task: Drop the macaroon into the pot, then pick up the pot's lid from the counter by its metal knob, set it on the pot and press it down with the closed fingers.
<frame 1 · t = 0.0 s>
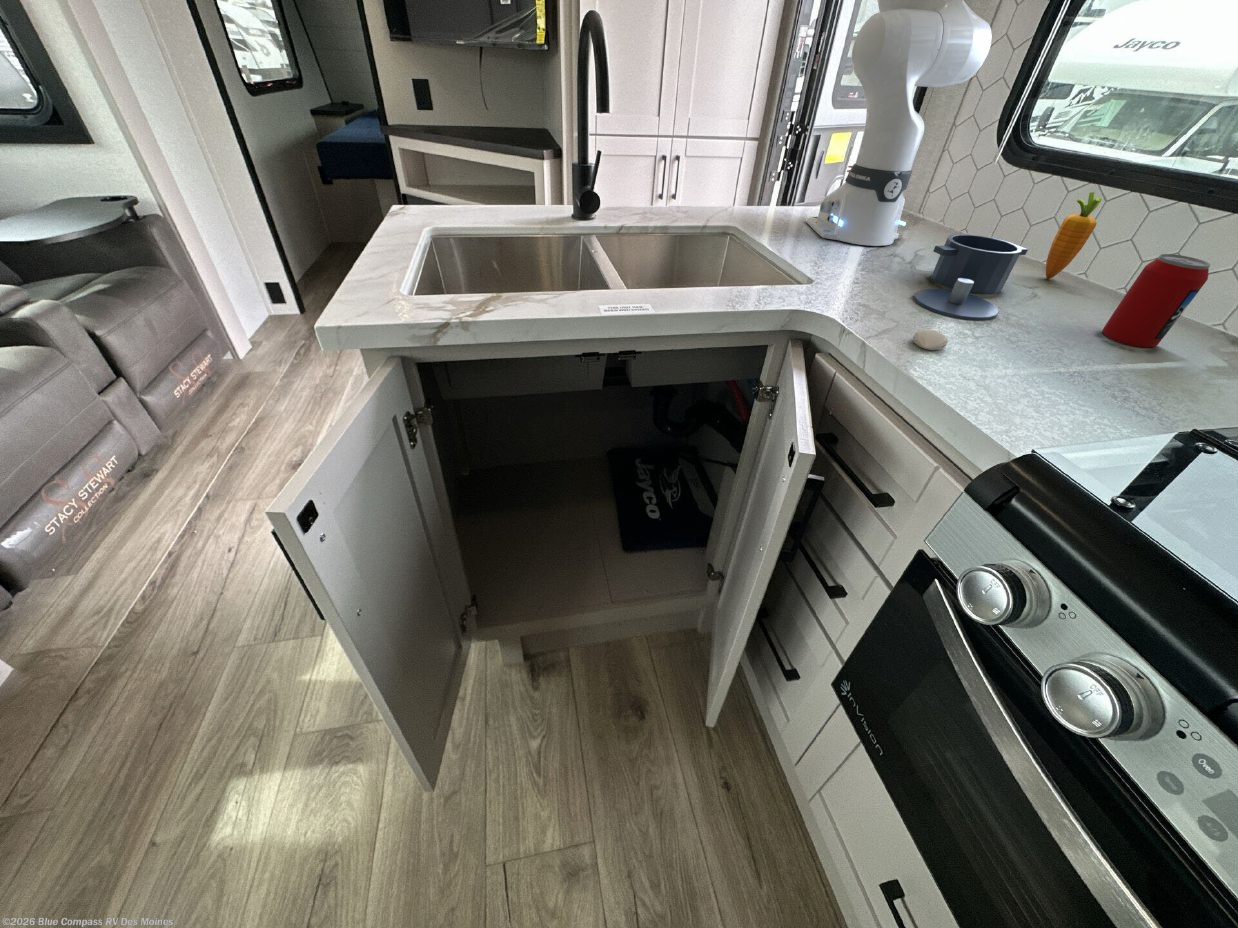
carrot: (1047, 280, 100), on the worktop
beverage can: (1125, 343, 77), on the worktop
lid: (954, 305, 84), point 1 cm above the worktop
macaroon: (924, 351, 72), on the worktop
pot: (964, 286, 94), on the worktop
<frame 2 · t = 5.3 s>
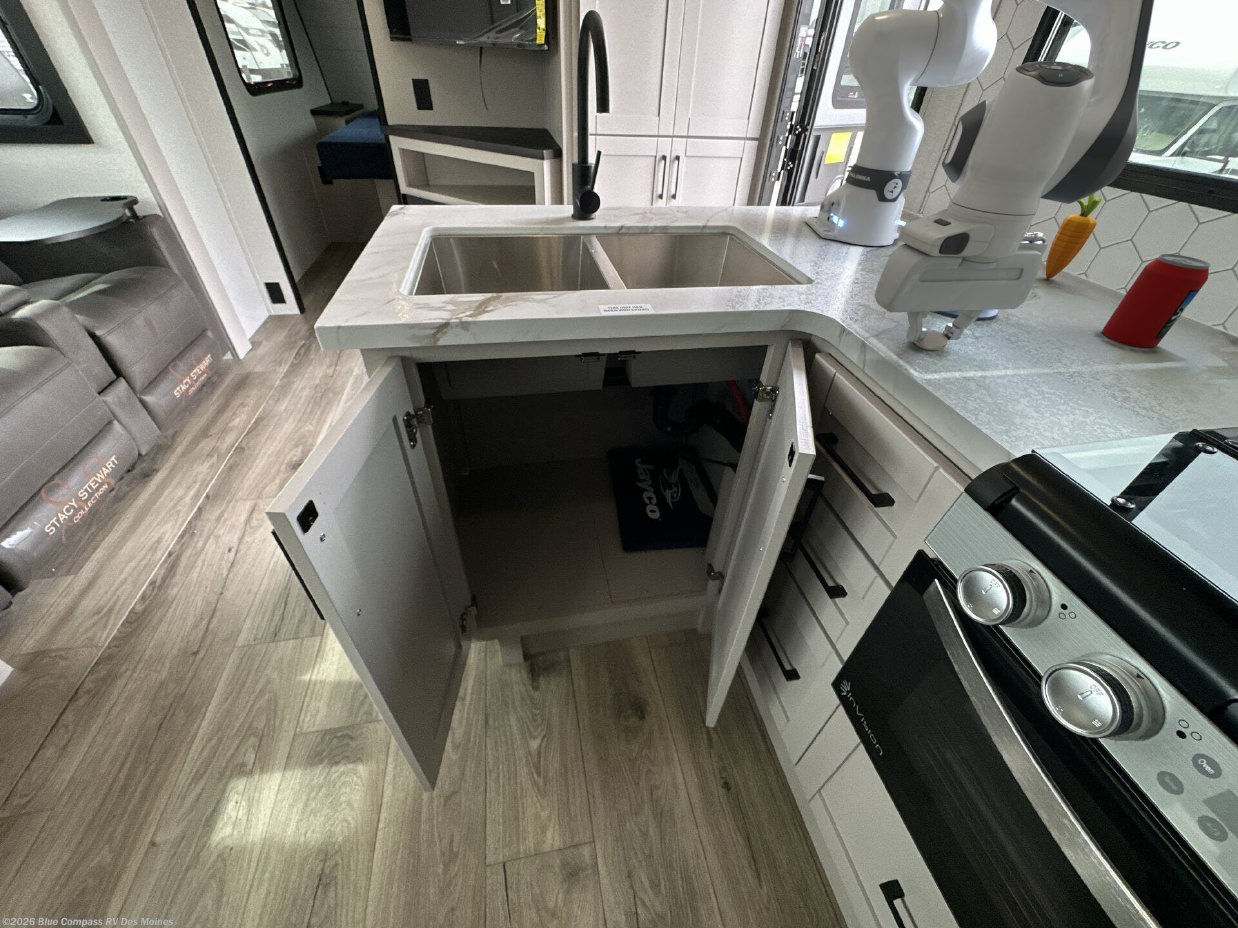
hand: (931, 339, 70), 2 cm above the worktop, tool pointing down, fingers closed on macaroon, 4 cm apart
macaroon: (924, 351, 71), on the worktop, touching gripper
everything else where it was.
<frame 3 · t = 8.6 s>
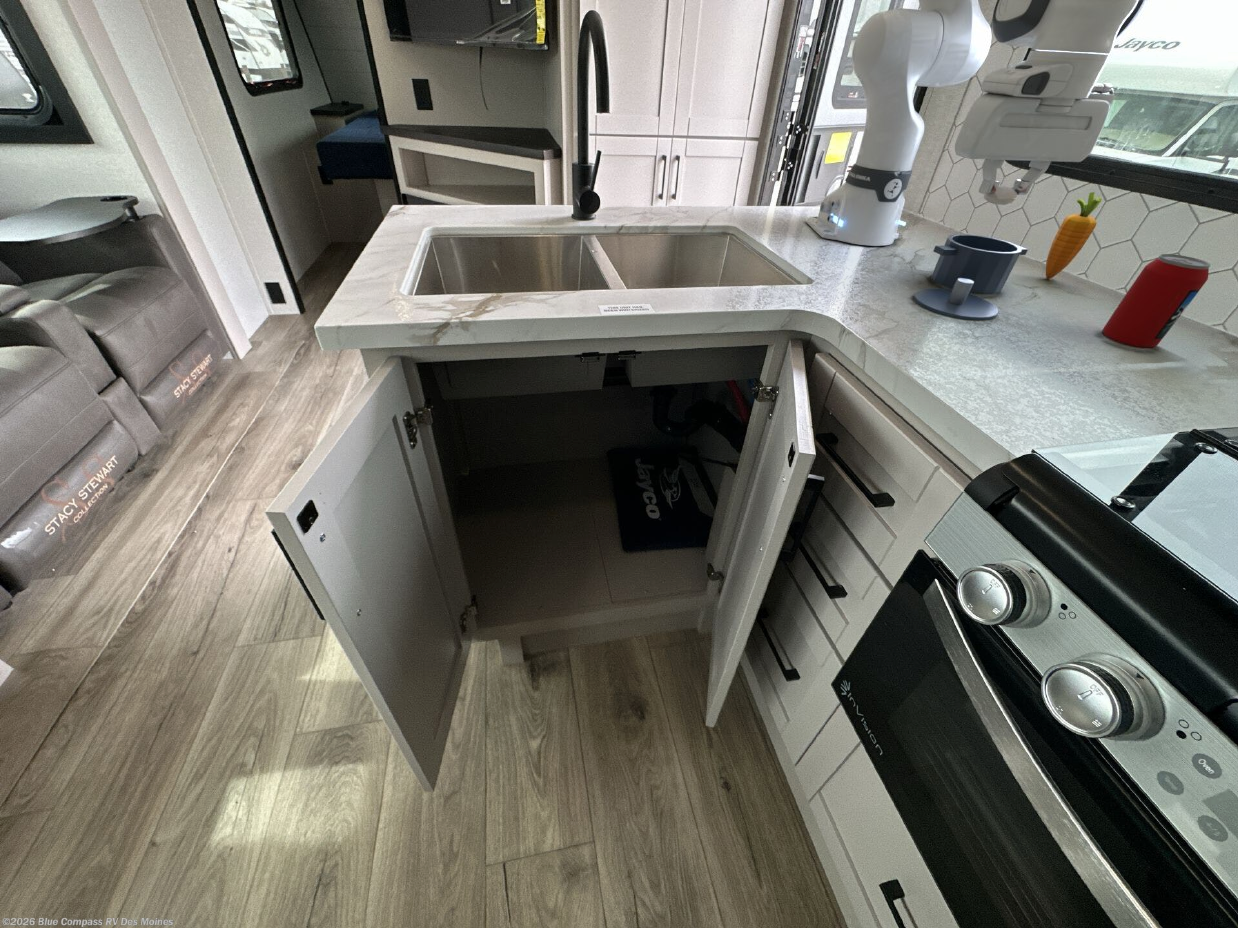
hand: (1001, 194, 78), 16 cm above the worktop, tool pointing down, fingers closed on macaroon, 4 cm apart
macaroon: (994, 206, 79), point 15 cm above the worktop, touching gripper
everything else where it was.
when the fingers open (7 cm above the worktop, at t = 12.4 s): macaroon stays where it is, resting on pot.
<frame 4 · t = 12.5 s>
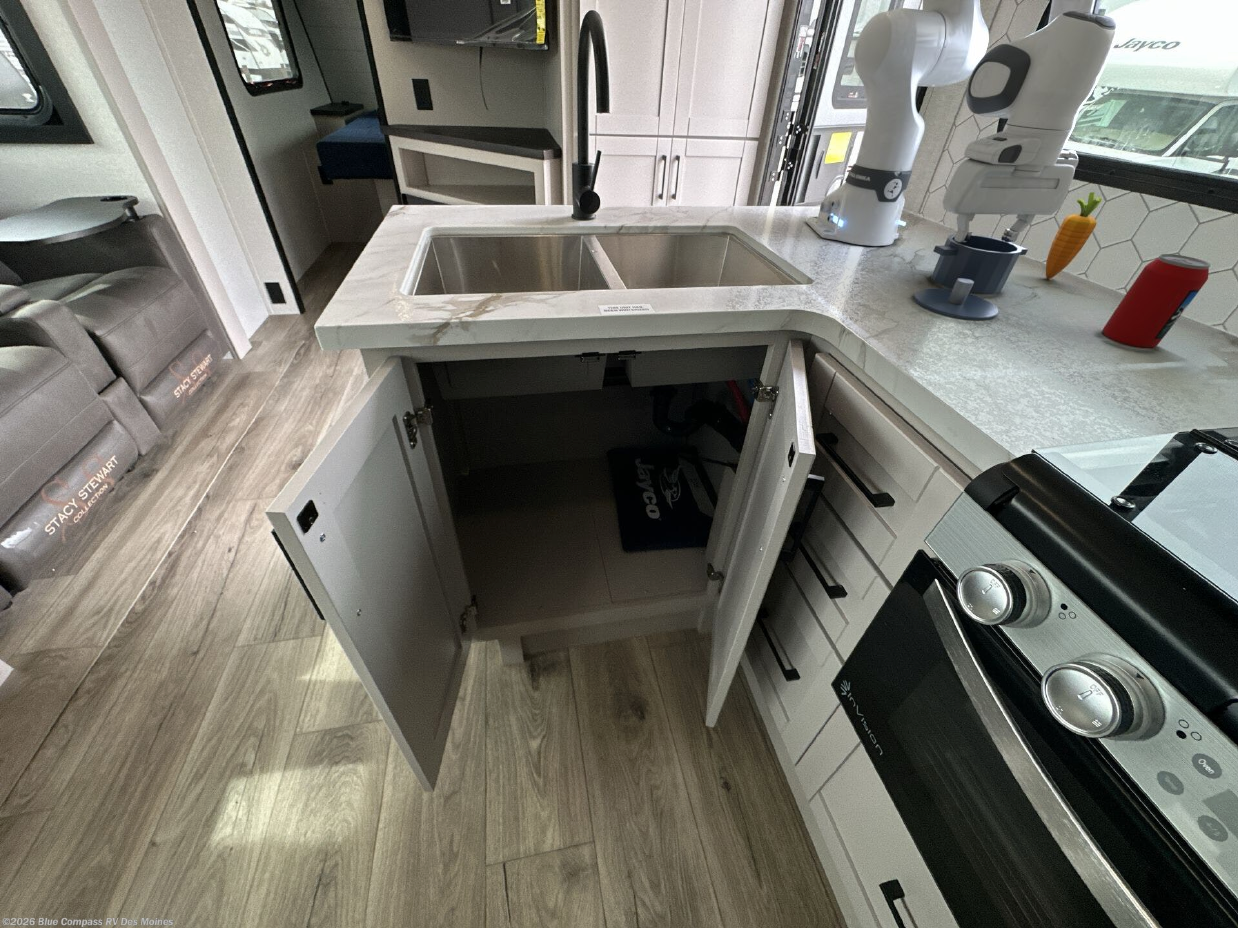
hand: (984, 241, 89), 8 cm above the worktop, tool pointing down, fingers open, 8 cm apart
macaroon: (963, 284, 94), resting on pot
everything else where it was.
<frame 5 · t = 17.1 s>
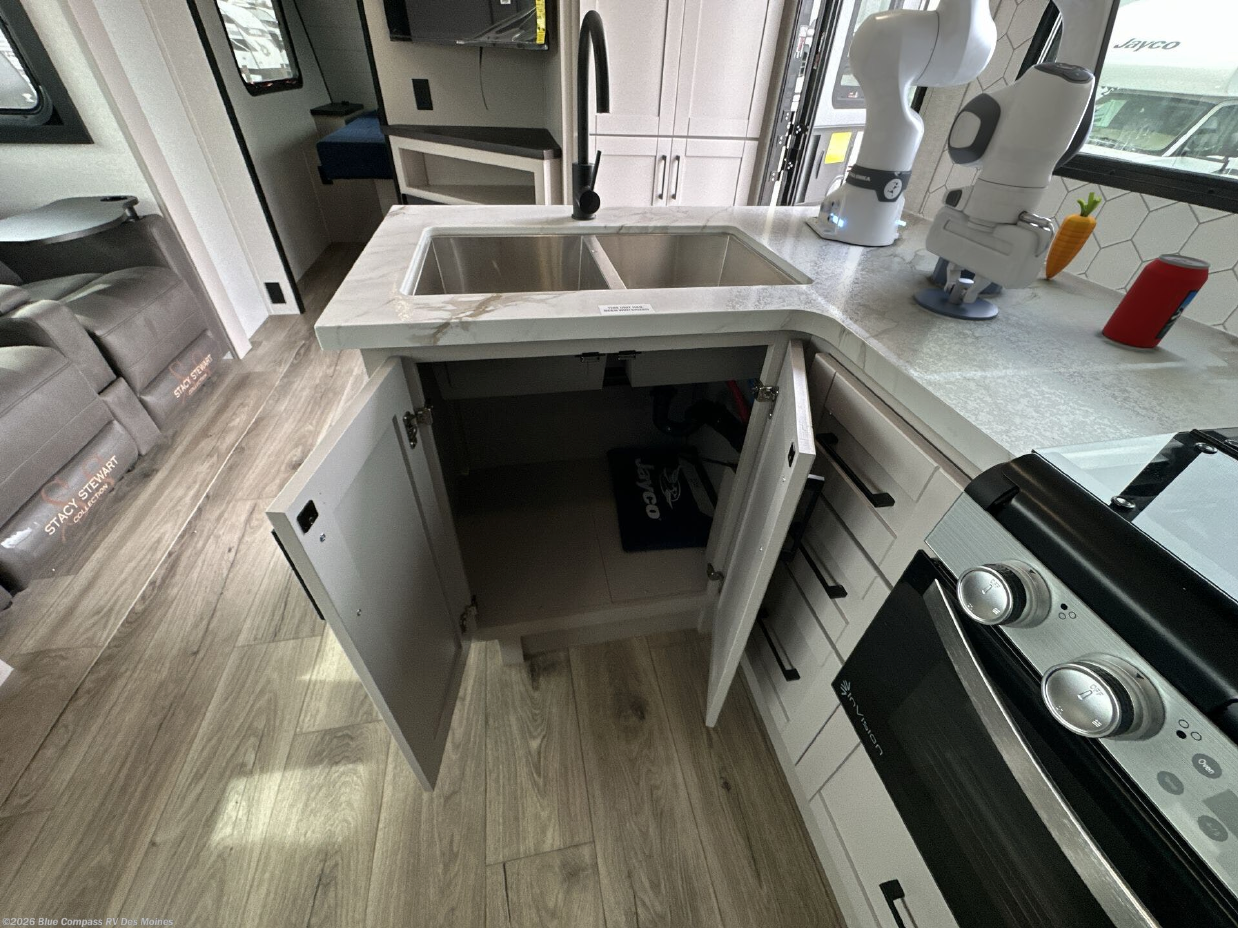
hand: (957, 297, 83), 2 cm above the worktop, tool pointing down, fingers closed on lid, 2 cm apart
lid: (954, 305, 84), point 1 cm above the worktop, touching gripper
everything else where it was.
when the fingers open (9 cm above the worktop, at t = 22.8 s): lid stays where it is, resting on pot.
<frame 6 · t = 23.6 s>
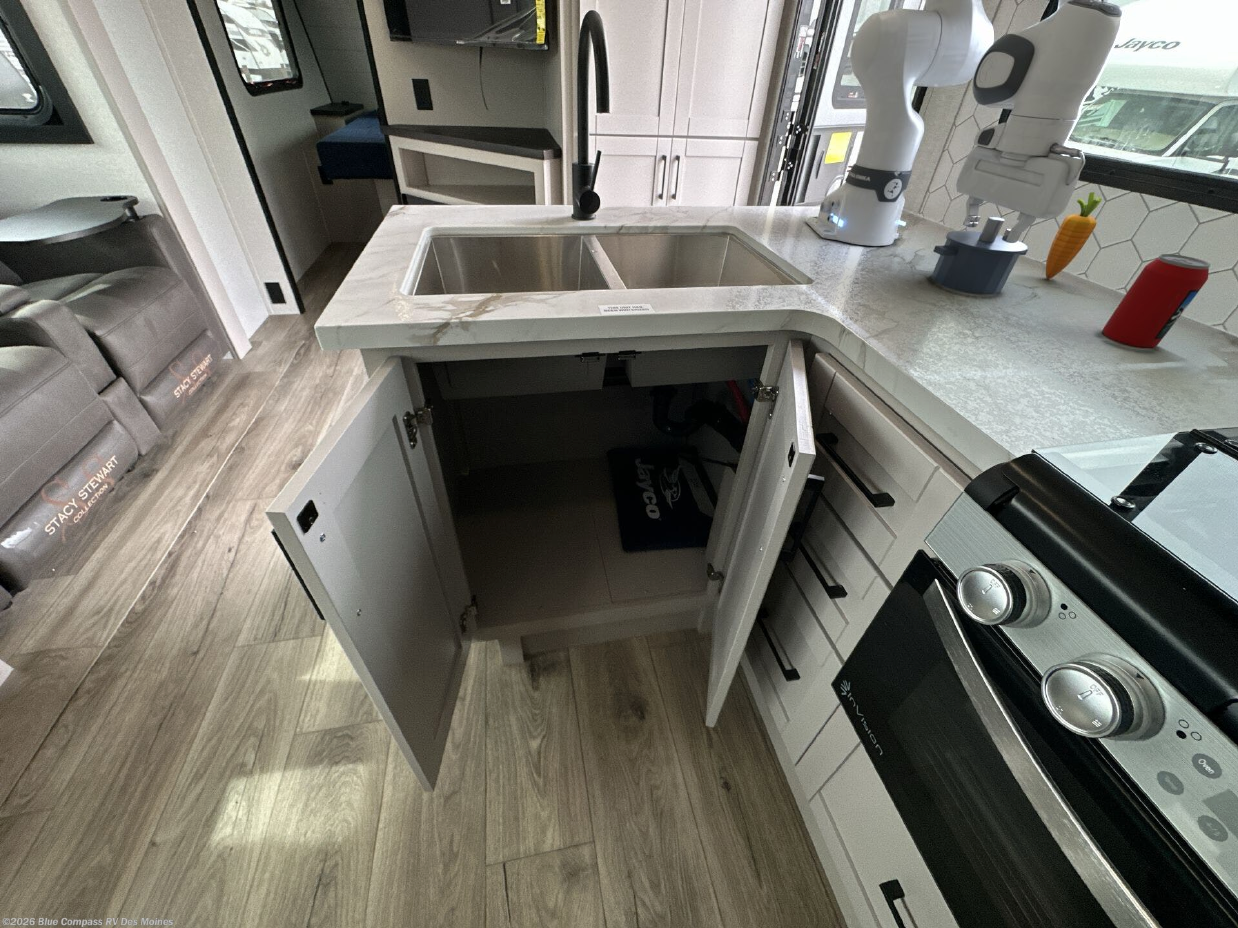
hand: (988, 234, 88), 9 cm above the worktop, tool pointing down, fingers open, 8 cm apart
lid: (984, 243, 89), point 7 cm above the worktop, touching pot
everything else where it was.
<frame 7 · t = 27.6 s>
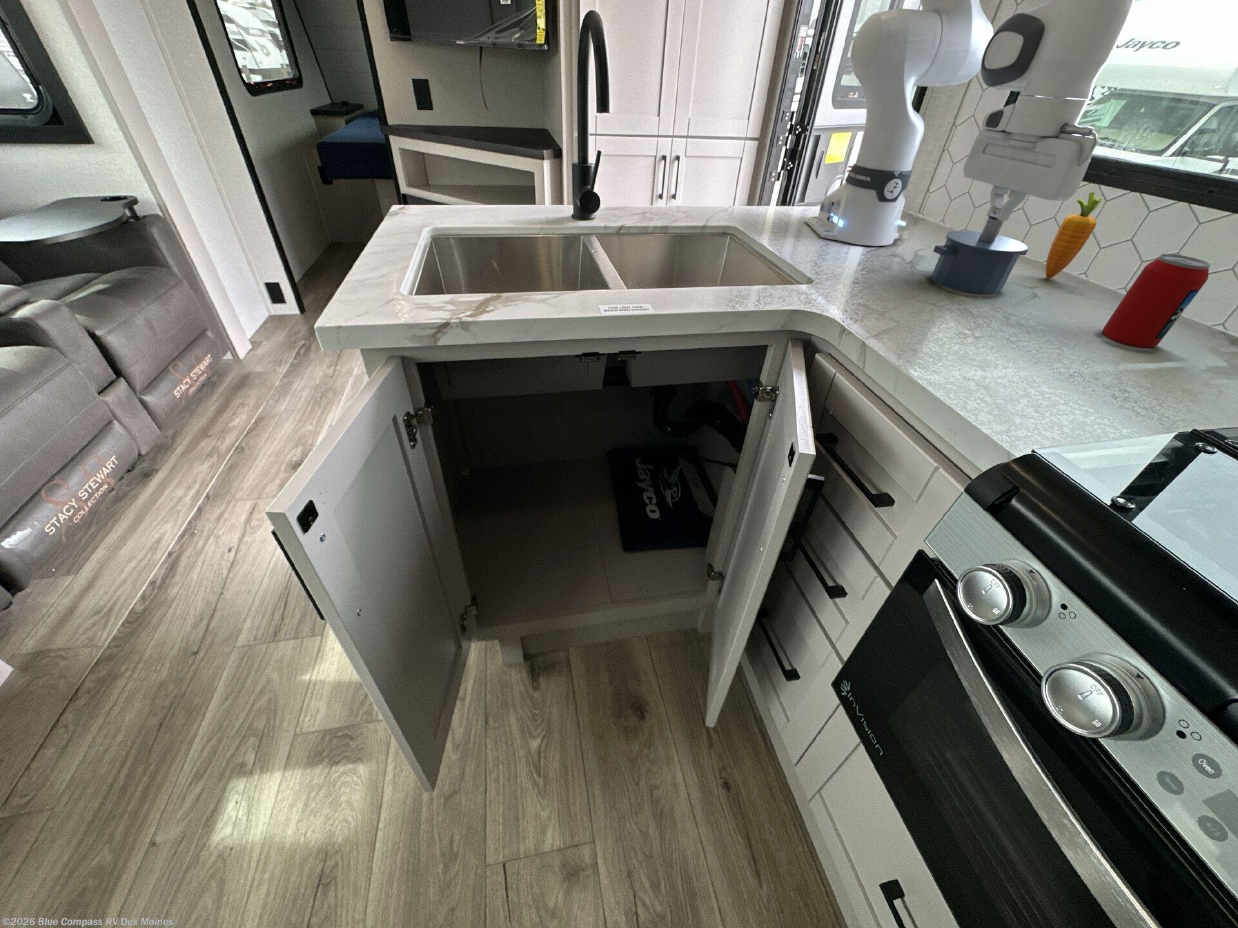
hand: (996, 219, 86), 11 cm above the worktop, tool pointing down, fingers closed, pressing on lid
lid: (984, 243, 89), point 7 cm above the worktop, touching gripper, pot
everything else where it was.
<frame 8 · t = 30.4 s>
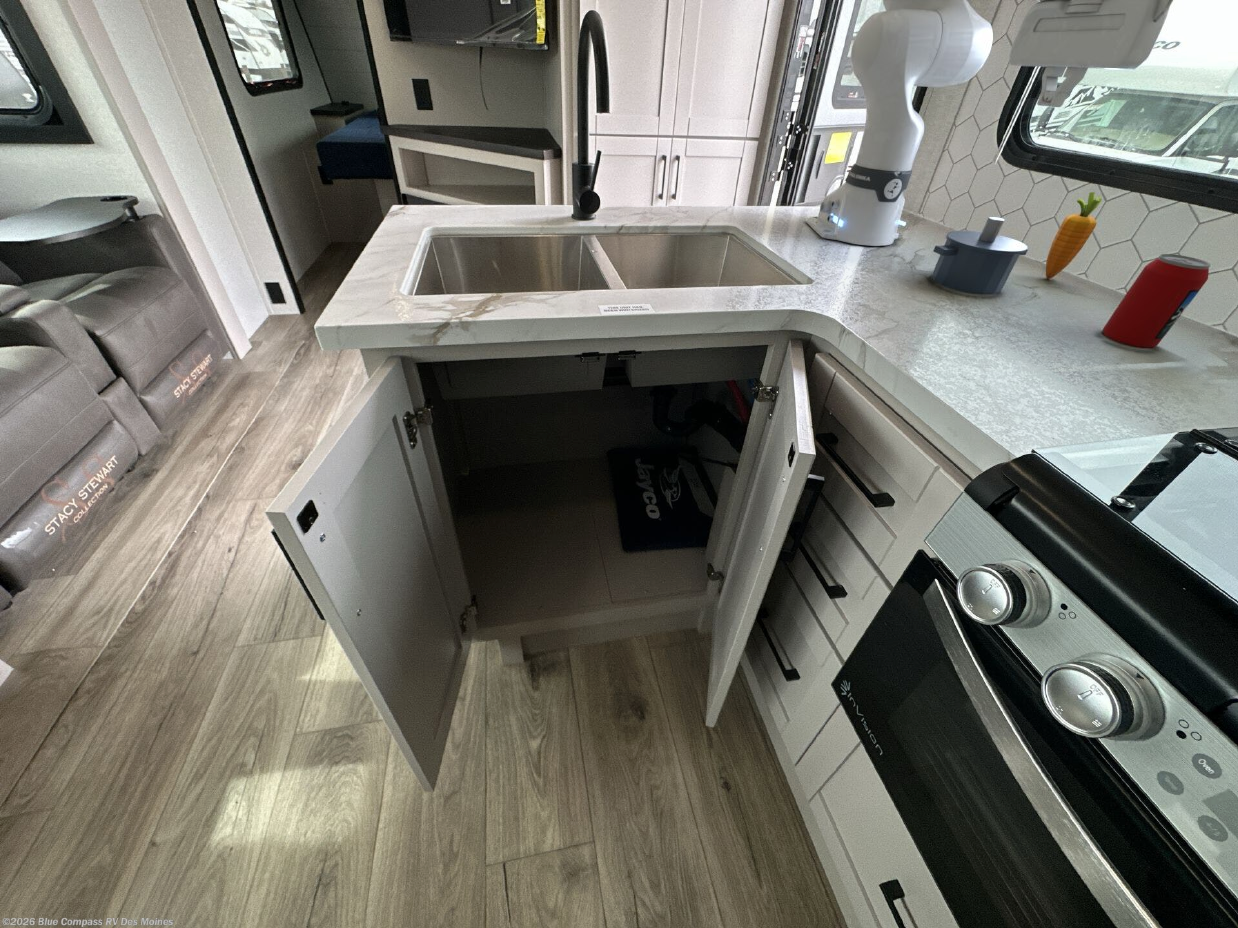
hand: (1048, 106, 77), 27 cm above the worktop, tool pointing down, fingers closed
lid: (984, 243, 89), point 7 cm above the worktop, touching pot
everything else where it was.
at the end: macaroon inside the target area in the pot (0.3 cm from its centre), point 0.3 cm above the pot's base; lid 0.1 cm off-centre on the pot, point 7.5 cm above the pot's base; lid tilted 0° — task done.
